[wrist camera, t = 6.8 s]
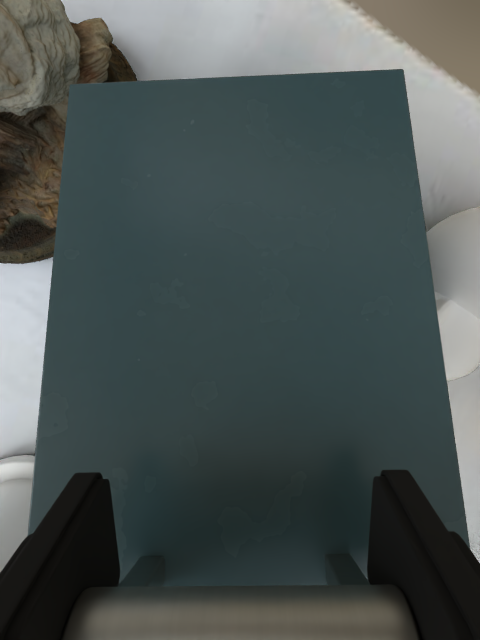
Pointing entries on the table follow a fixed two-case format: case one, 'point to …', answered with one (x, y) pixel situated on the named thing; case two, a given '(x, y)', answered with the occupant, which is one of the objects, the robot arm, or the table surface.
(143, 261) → the bin lid
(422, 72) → the table surface
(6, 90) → the owl pair sculpture
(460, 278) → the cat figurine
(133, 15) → the table surface
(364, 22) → the table surface
